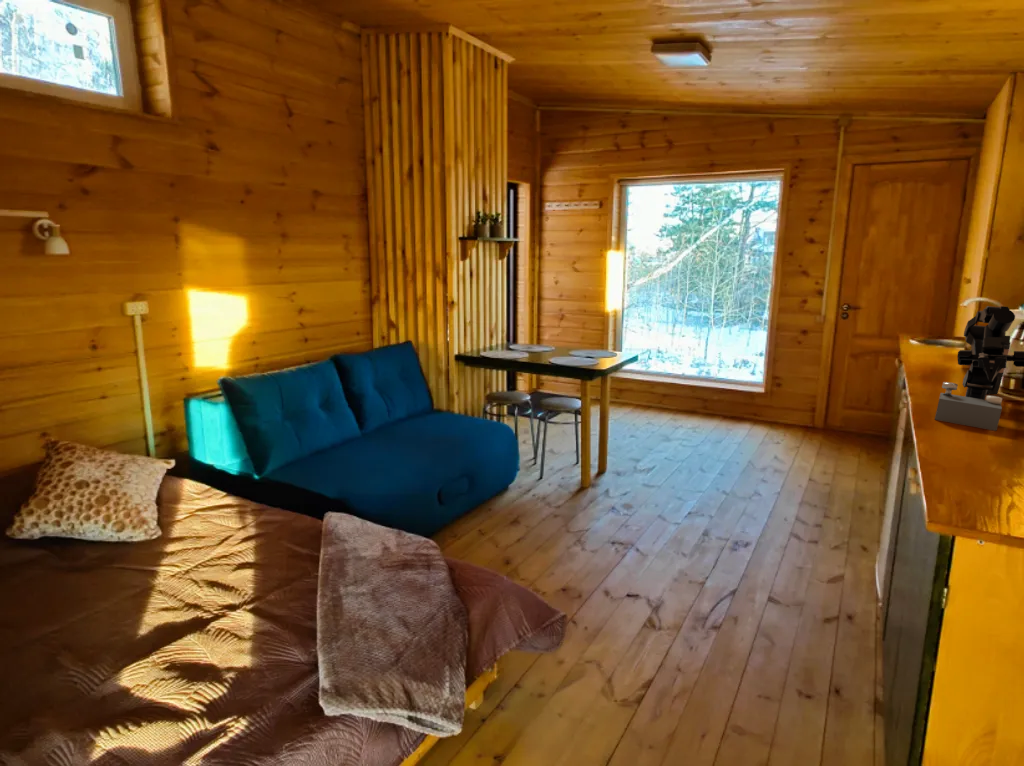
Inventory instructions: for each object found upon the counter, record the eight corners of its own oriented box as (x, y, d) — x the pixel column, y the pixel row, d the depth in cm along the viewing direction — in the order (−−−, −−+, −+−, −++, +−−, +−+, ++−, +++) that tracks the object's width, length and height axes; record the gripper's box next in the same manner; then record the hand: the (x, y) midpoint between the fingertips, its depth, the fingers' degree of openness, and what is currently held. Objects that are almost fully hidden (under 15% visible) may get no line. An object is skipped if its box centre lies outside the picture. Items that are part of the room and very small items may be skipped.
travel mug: (1002, 395, 242) (1015, 343, 237) (979, 393, 243) (992, 341, 238) (992, 390, 249) (1004, 340, 244) (970, 388, 250) (982, 338, 246)
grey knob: (940, 393, 210) (943, 381, 209) (955, 395, 208) (957, 383, 207) (940, 395, 207) (942, 383, 206) (954, 398, 205) (957, 385, 204)
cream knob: (983, 407, 204) (986, 394, 203) (999, 409, 202) (1002, 397, 201) (983, 409, 201) (986, 397, 200) (999, 412, 199) (1002, 399, 198)
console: (936, 413, 212) (940, 392, 211) (995, 423, 204) (1000, 402, 202) (934, 419, 204) (939, 398, 203) (996, 430, 196) (1001, 408, 194)
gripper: (959, 326, 213) (954, 367, 208) (1031, 326, 201) (1028, 369, 196) (960, 344, 221) (956, 383, 215) (1030, 345, 209) (1027, 386, 204)
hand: (990, 380), depth 207 cm, fingers closed
